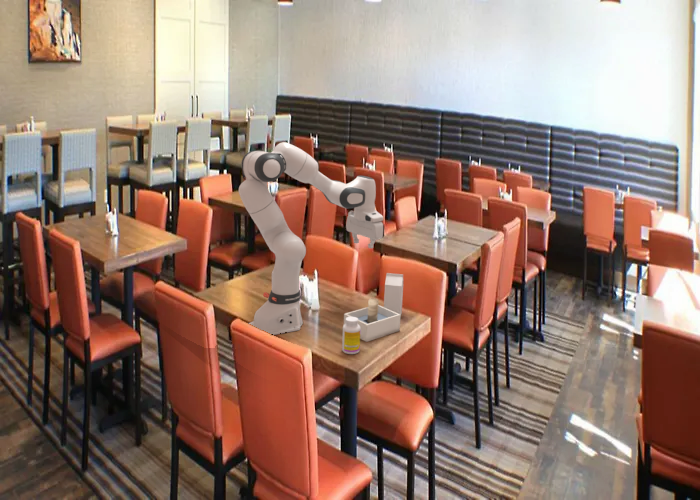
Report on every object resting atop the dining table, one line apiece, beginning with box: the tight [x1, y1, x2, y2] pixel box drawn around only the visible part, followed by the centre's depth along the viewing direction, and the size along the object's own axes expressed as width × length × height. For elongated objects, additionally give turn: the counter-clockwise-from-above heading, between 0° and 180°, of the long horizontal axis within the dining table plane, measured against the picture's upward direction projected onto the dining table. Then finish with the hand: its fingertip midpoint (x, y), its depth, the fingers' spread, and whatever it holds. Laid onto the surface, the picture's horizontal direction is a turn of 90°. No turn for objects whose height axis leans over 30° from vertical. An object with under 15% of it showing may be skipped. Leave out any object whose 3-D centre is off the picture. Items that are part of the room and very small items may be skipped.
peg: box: [367, 298, 379, 323], centre depth 235 cm, size 4×4×12 cm
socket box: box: [343, 304, 402, 342], centre depth 236 cm, size 18×14×7 cm
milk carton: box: [383, 272, 404, 316], centre depth 250 cm, size 7×7×19 cm
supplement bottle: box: [341, 317, 361, 355], centre depth 216 cm, size 7×7×13 cm
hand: (363, 245), depth 251 cm, fingers open, 8 cm apart
